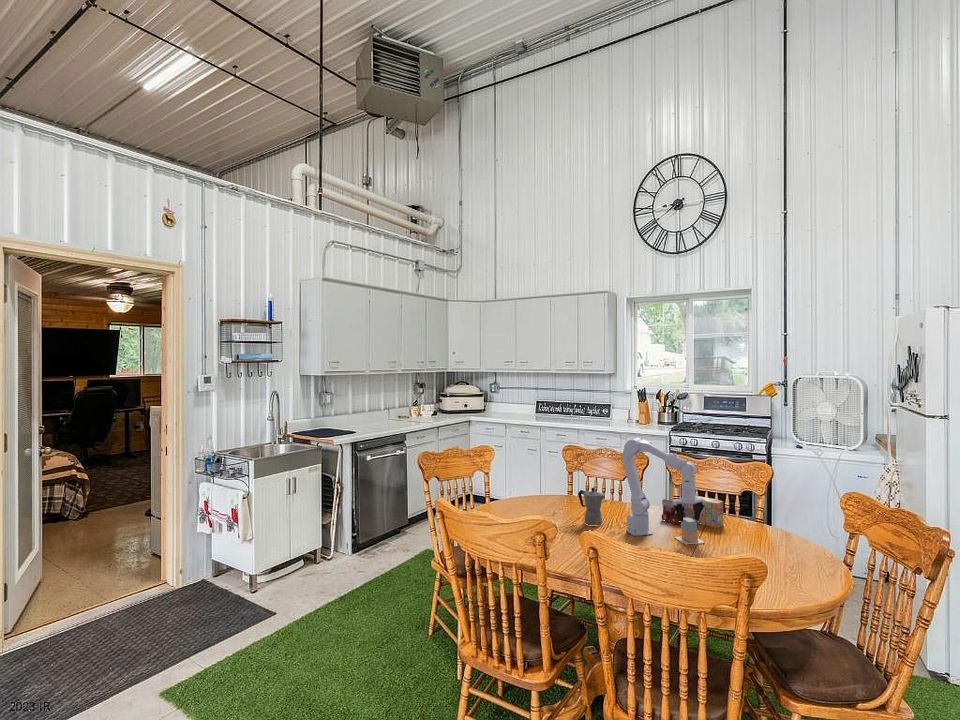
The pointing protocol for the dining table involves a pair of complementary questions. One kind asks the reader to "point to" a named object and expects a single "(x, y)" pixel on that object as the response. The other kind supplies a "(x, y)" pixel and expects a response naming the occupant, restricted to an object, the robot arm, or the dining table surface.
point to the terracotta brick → (690, 536)
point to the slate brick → (689, 524)
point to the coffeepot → (592, 506)
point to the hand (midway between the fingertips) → (688, 520)
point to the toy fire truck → (670, 512)
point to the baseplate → (689, 542)
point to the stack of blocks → (707, 512)
